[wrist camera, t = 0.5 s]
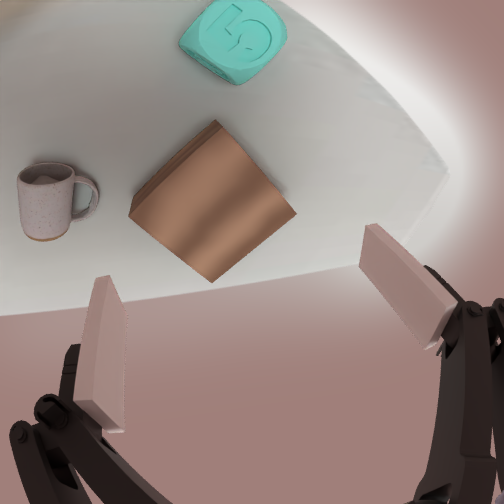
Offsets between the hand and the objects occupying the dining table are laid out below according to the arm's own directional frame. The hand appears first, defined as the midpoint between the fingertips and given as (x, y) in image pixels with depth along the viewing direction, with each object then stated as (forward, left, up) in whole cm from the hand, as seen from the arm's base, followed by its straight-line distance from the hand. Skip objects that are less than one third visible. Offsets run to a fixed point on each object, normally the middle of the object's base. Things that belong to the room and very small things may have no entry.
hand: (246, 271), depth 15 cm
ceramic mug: (-9, -16, -25) cm, 31 cm away
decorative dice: (-9, +11, -25) cm, 28 cm away
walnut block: (+5, -3, -25) cm, 26 cm away
